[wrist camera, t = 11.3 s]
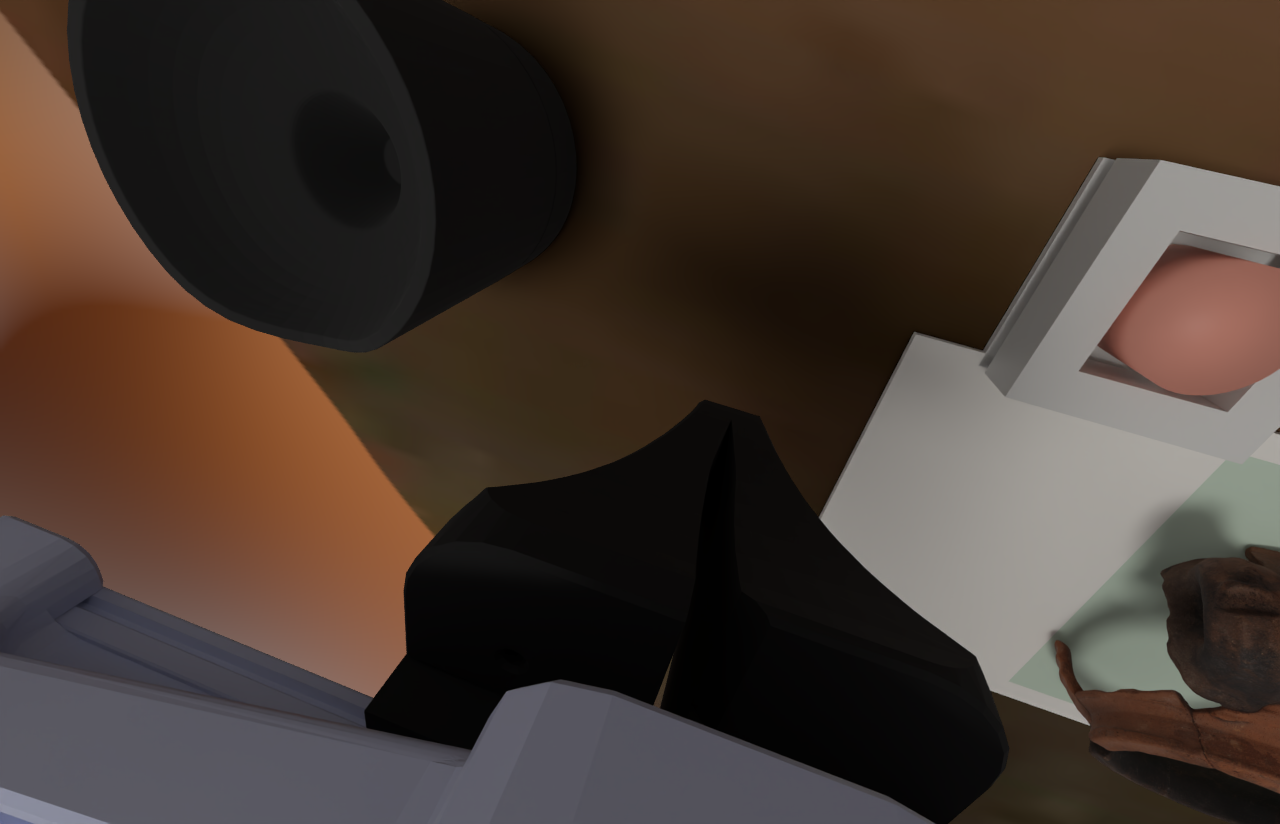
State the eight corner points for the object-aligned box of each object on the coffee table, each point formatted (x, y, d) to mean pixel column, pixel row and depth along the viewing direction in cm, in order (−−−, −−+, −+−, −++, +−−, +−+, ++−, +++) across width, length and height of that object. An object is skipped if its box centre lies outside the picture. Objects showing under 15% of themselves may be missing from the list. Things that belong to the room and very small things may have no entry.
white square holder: (1177, 419, 18) (1241, 464, 16) (975, 362, 19) (1005, 397, 16) (1356, 215, 15) (1477, 230, 12) (1098, 157, 15) (1160, 159, 13)
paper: (1312, 798, 24) (1318, 806, 24) (771, 608, 27) (771, 613, 27) (1755, 563, 16) (1771, 570, 16) (914, 331, 19) (915, 334, 19)
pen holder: (452, -64, 17) (114, -274, 8) (640, 163, 19) (517, 179, 10) (337, 153, 22) (40, 159, 13) (497, 320, 23) (328, 422, 15)
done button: (1169, 368, 17) (1243, 411, 14) (1057, 338, 17) (1107, 373, 15) (1257, 261, 15) (1359, 287, 12) (1129, 230, 16) (1201, 249, 13)
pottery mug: (1391, 658, 20) (1455, 912, 16) (1079, 607, 27) (1072, 776, 23) (1427, 480, 15) (1539, 803, 11) (1023, 474, 22) (1002, 668, 18)
